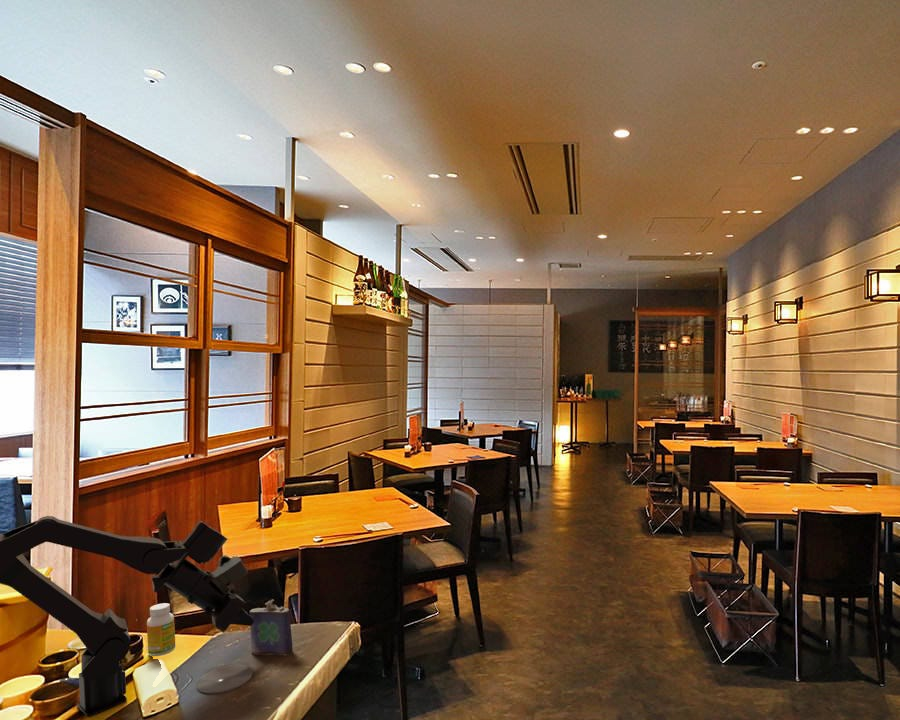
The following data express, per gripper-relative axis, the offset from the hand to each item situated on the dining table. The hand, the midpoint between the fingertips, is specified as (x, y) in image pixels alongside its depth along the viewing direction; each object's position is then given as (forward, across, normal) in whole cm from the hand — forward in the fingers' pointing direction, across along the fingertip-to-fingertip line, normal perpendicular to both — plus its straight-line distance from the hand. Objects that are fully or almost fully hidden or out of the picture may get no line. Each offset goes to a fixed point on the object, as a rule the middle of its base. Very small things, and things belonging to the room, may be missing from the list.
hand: (252, 623), depth 122 cm
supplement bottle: (-6, +18, +16) cm, 25 cm away
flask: (+8, 0, +3) cm, 8 cm away
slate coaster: (0, -6, +10) cm, 12 cm away
